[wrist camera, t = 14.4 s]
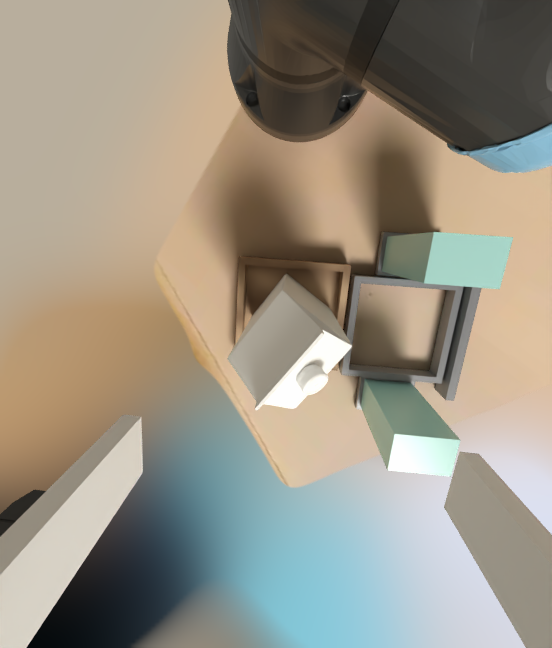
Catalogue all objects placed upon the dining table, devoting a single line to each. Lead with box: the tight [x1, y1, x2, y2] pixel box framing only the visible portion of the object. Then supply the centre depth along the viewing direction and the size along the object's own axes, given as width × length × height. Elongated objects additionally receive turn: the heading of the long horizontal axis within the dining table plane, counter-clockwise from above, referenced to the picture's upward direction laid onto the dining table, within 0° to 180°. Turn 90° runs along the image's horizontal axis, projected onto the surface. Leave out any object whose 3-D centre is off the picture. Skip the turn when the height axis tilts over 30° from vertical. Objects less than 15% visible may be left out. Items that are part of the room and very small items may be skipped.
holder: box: [339, 232, 513, 476], centre depth 32 cm, size 23×14×13 cm, turn 176°
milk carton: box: [228, 273, 352, 410], centre depth 29 cm, size 7×7×19 cm
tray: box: [235, 256, 351, 370], centre depth 38 cm, size 13×13×3 cm
